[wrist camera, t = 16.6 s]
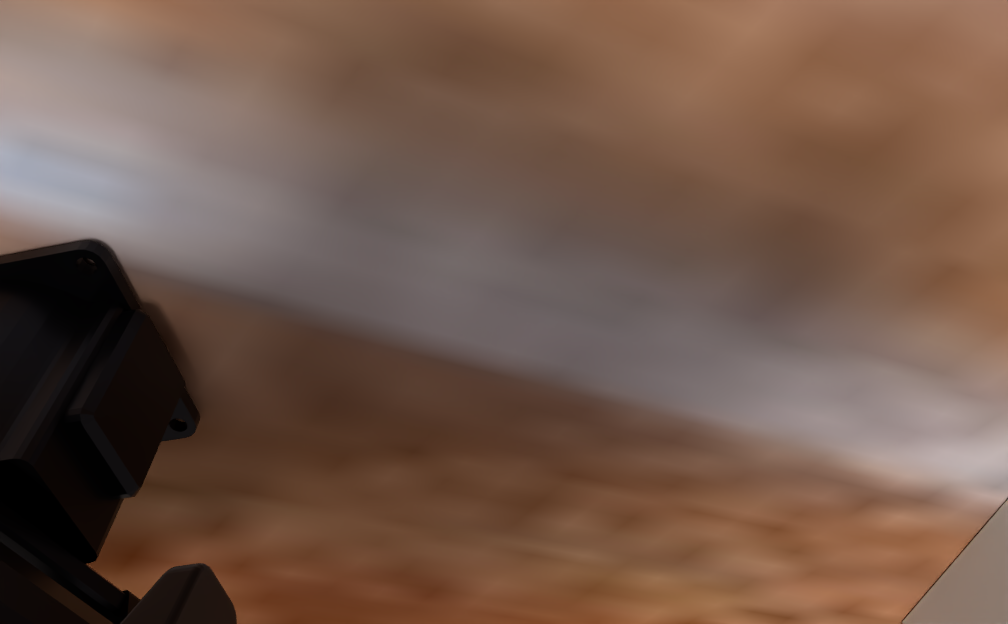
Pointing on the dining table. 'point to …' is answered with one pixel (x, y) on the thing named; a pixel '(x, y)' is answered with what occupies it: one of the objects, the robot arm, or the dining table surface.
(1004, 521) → the socket block
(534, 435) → the dining table surface
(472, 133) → the dining table surface
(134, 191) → the dining table surface
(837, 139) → the dining table surface
